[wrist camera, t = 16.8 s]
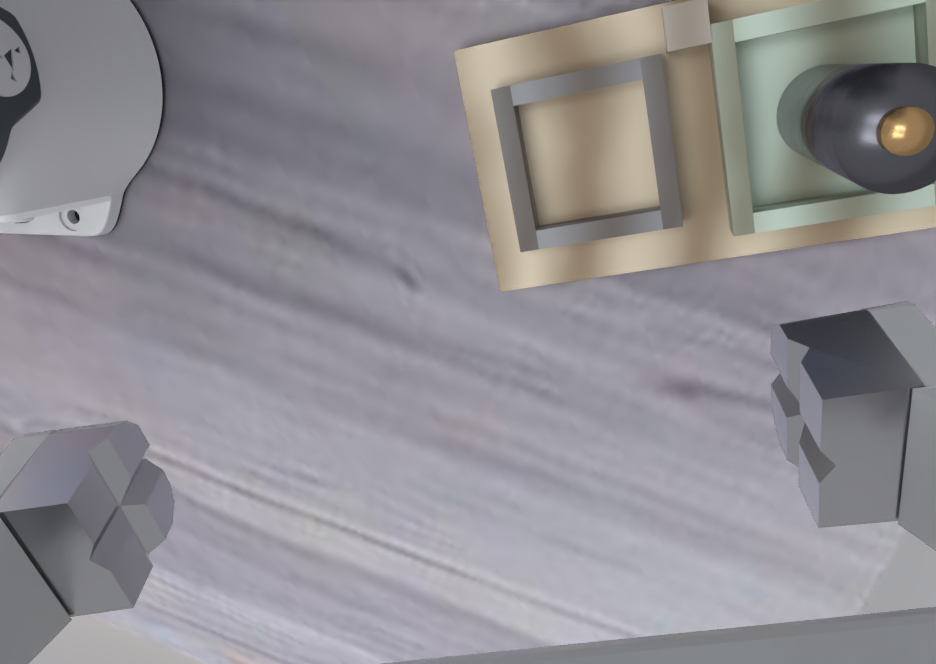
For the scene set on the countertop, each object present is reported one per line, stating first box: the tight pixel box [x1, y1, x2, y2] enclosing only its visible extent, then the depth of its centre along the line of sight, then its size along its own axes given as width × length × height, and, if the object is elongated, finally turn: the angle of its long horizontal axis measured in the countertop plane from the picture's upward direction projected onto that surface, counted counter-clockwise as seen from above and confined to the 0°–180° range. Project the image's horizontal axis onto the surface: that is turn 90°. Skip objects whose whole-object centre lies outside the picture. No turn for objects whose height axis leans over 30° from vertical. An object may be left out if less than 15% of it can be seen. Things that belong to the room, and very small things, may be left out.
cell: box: [776, 63, 936, 194], centre depth 33 cm, size 4×4×13 cm
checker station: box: [454, 0, 936, 292], centre depth 40 cm, size 23×13×4 cm, turn 102°
